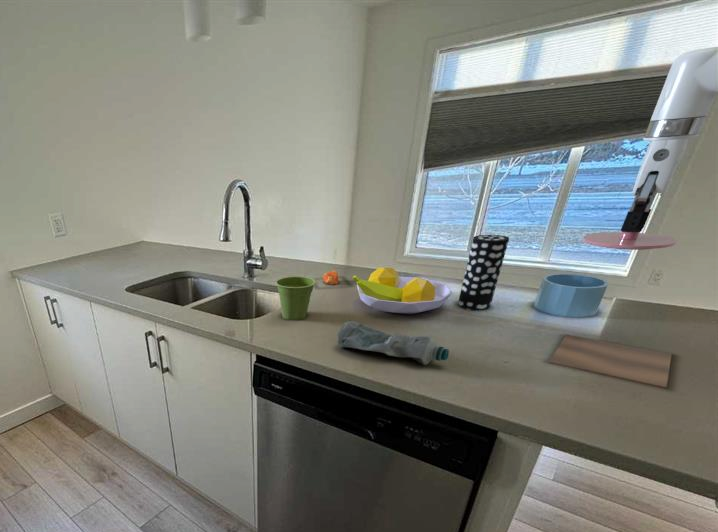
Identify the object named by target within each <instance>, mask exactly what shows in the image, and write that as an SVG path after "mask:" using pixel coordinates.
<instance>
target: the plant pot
mask: <svg viewBox="0 0 718 532" xmlns="http://www.w3.org/2000/svg"><path fill="white" fill-rule="evenodd" d="M316 284H317V281H316V279H314V278H312V277H308V276H302V275H301V276H299V275H297V276H296V275H295V276H291V275H290V276H284V277H282V278H278V279H277V280H275V285H276V286H277V292H278V295H279V302H280V309H281V317H282V318H283V320H284V319H285V320H286V321H289V320H291V321H298V320H302V319H305V318H306V317H307V313H308V309H309V304H310V300H311V296H312V292H313V289H314V286H315V285H316Z"/></svg>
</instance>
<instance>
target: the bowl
mask: <svg viewBox="0 0 718 532" xmlns="http://www.w3.org/2000/svg"><path fill="white" fill-rule="evenodd" d="M609 284H610V283H609V281H607V280H606V279H604V278H601V277H597V276H592V275H588V274H580V273H551V274H548V275H544V276H543V277H542V279H541V282H540V285H539V288H538V291H537V293H536V298H535V300H534V304H533V307H534V309H536V310H538V311H540V312H541V313H546V314H548V315H552V316H558V317H563V318H589V317H593V316H595V315H596V314H597V312H598V310H599V308H600V305H601V303H602V300H603V298H604V296H605V294H606V291H607V289H608V286H609Z"/></svg>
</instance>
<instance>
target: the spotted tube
mask: <svg viewBox="0 0 718 532" xmlns="http://www.w3.org/2000/svg"><path fill="white" fill-rule="evenodd" d="M509 241H510V237H509V236H506V235H499V234H478V235H475V236H473V238H472V241H471V247H470V251H469V254H468V259H467V262H466V268H465V272H464V275H463V280H462V284H461V288H460V293H459V296H458V302H457V307H459V308H461V309H464V310H468V311H475V312H476V311H478V312H479V311H480V312H481V311H487V310H489V309H490V308H491V306H492V303H493V298H494V295H495V291H496V288H497V285H498V281H499V277H500V275H501V274H500V273H501V270H502V267H503V262H504V259H505V256H506V252H507V249H508V245H509Z"/></svg>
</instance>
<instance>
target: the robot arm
mask: <svg viewBox="0 0 718 532" xmlns="http://www.w3.org/2000/svg"><path fill="white" fill-rule="evenodd" d="M717 95H718V46H712V47H706V48H700V49H694V50H690V51H687V52H684V53H682V54H680V55H679V56H677V57H676V58H675V59H674V61H673V62H672V64H671V66H670V69H669V70H668V73H667V76H666V78H665V81H664V83H663V87H662V89H661V92H660V95H659V97H658V100H657V102H656V105H655V107H654V110H653V113H652V114H651V118H650V121H649V123H648V125H647V128H646V131H645V133H644V135H643V138H642V141H644V142H646V141H647V142H649V144H648V146H647V148H646V151H645V153H644V157H643V159H642V162H641V164H640V167H639V170H638V173H637V175H636V179H635V182H634V185H633V188H632V192H631V195H632V196H634V199H633V202H632V204H631V207H630V209H629V211H627V213H626V215H625V218H624V221H623V223H622V226H621V227H620V232H640V233H642V231H643V229H644V228H645V226H646V223H647V221H648V219H649V217H650V214H651V213H652V205H653V204H654V201H655V199H656V196H657V195H658V194H660V195H659V196H660V197H662V196H665V195H666V194H667V193H668V191H669V189H670V187H671V185H672V182H673V180H674V178H675V175H676V173H677V171H678V169H679V167H680V164H681V162H682V159H683V157H684V154H685V152H686V150H687V147H688V143H689V140H690V139H695V138H699V136H700V133H701V131H702V129H703V128H704V126H705V125H704V124H705V122H706V120H707V118H708V116H709V113H710V111H711V108H712V106H713V104H714V101H715V99H716V97H717ZM651 204H652V205H651ZM650 206H651V207H650ZM649 208H650V209H649ZM648 210H649V212H648Z"/></svg>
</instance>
